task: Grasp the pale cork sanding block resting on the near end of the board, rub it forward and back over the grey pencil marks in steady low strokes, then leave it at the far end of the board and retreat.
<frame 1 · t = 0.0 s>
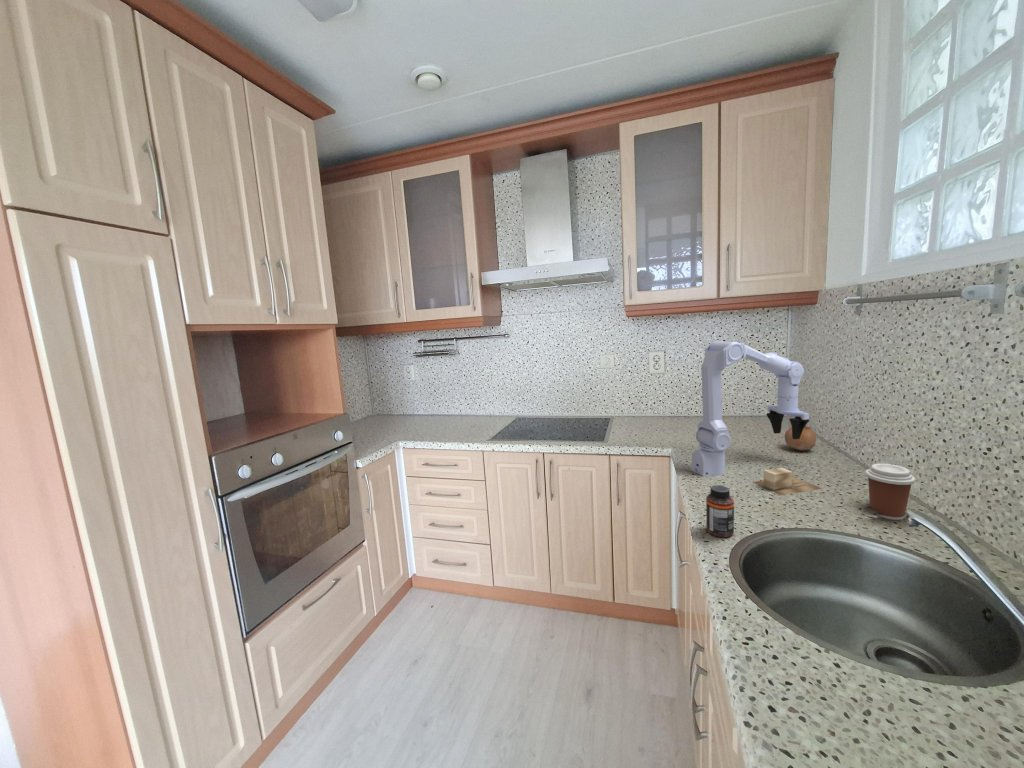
hand: (786, 435, 134), 10 cm above the countertop, tool pointing down, fingers open, 7 cm apart
onion: (799, 451, 148), on the countertop
coffee cup: (886, 514, 99), on the countertop
supplement bottle: (719, 532, 96), on the countertop
sanding block: (777, 487, 115), point 1 cm above the countertop, touching board
board: (786, 488, 117), on the countertop
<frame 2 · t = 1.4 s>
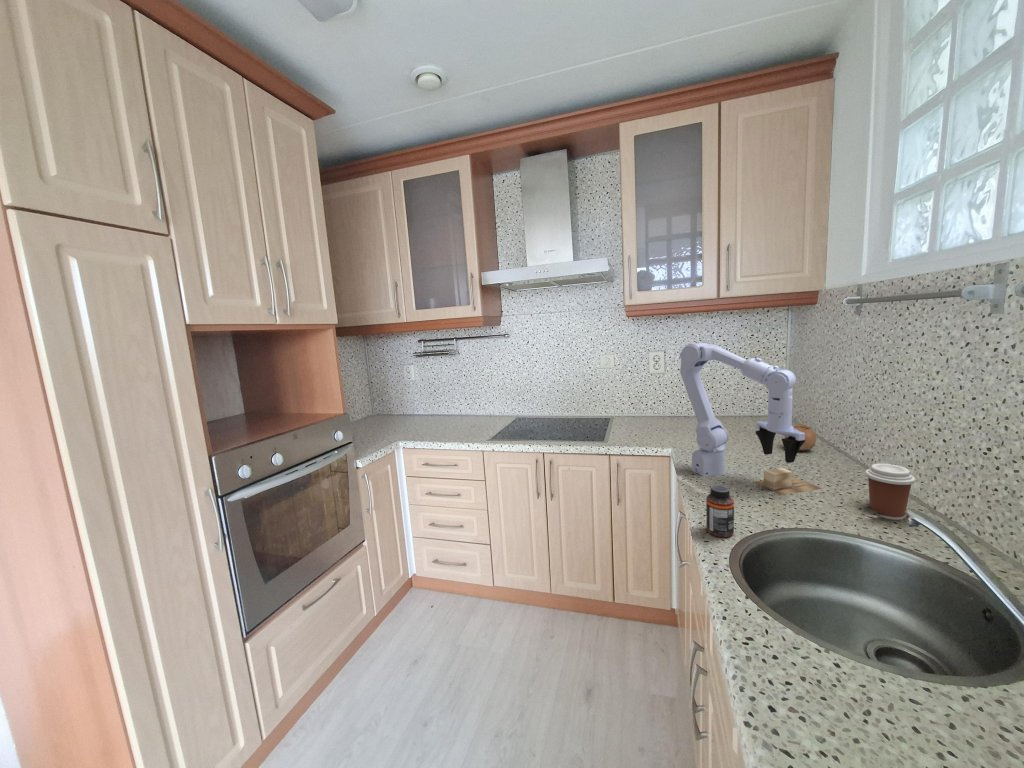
hand: (778, 458, 114), 10 cm above the countertop, tool pointing down, fingers open, 7 cm apart
nothing on the countertop moved.
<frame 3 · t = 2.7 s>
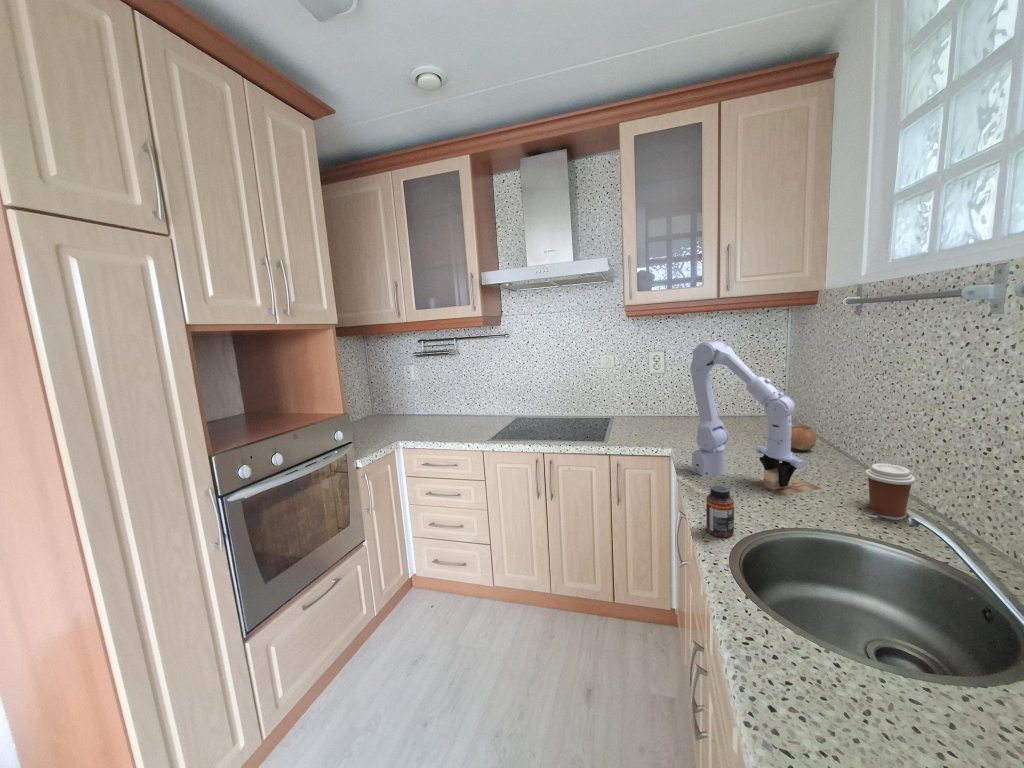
hand: (777, 483, 115), 2 cm above the countertop, tool pointing down, fingers closed on sanding block, 4 cm apart
sanding block: (777, 487, 115), point 1 cm above the countertop, touching board, gripper
everything else where it was.
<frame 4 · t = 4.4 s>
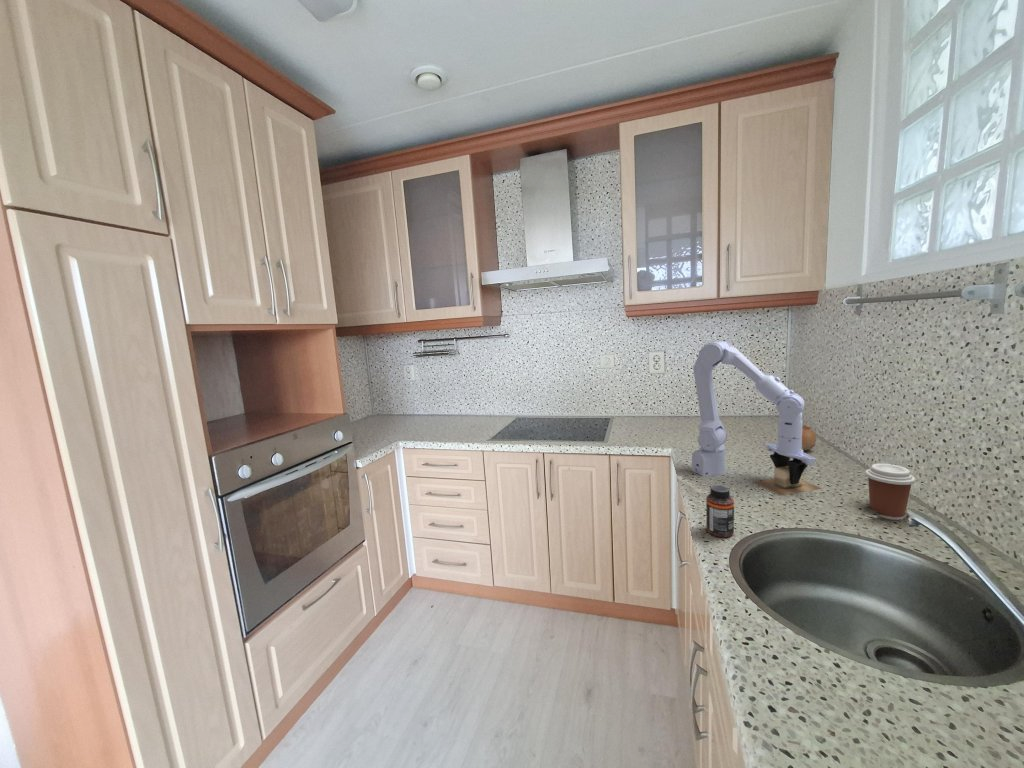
hand: (788, 480, 116), 3 cm above the countertop, tool pointing down, fingers closed on sanding block, 4 cm apart
sanding block: (788, 484, 116), point 1 cm above the countertop, touching gripper
everything else where it was.
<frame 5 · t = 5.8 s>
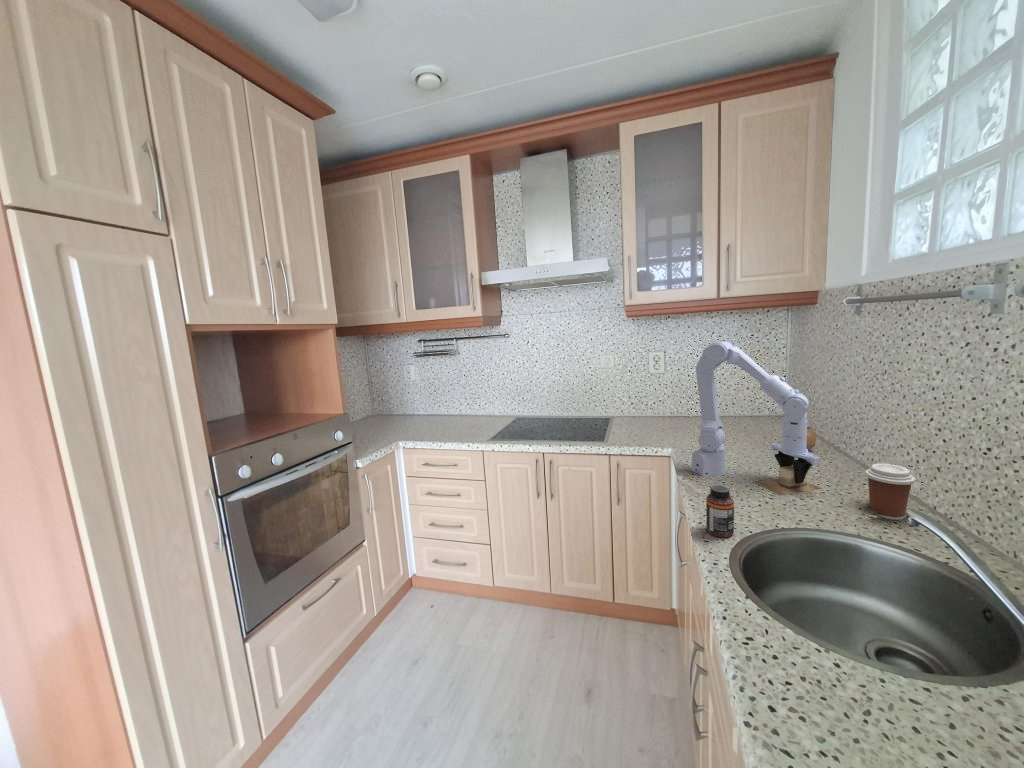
hand: (792, 480, 116), 3 cm above the countertop, tool pointing down, fingers closed on sanding block, 4 cm apart
sanding block: (792, 484, 116), point 1 cm above the countertop, touching gripper
everything else where it was.
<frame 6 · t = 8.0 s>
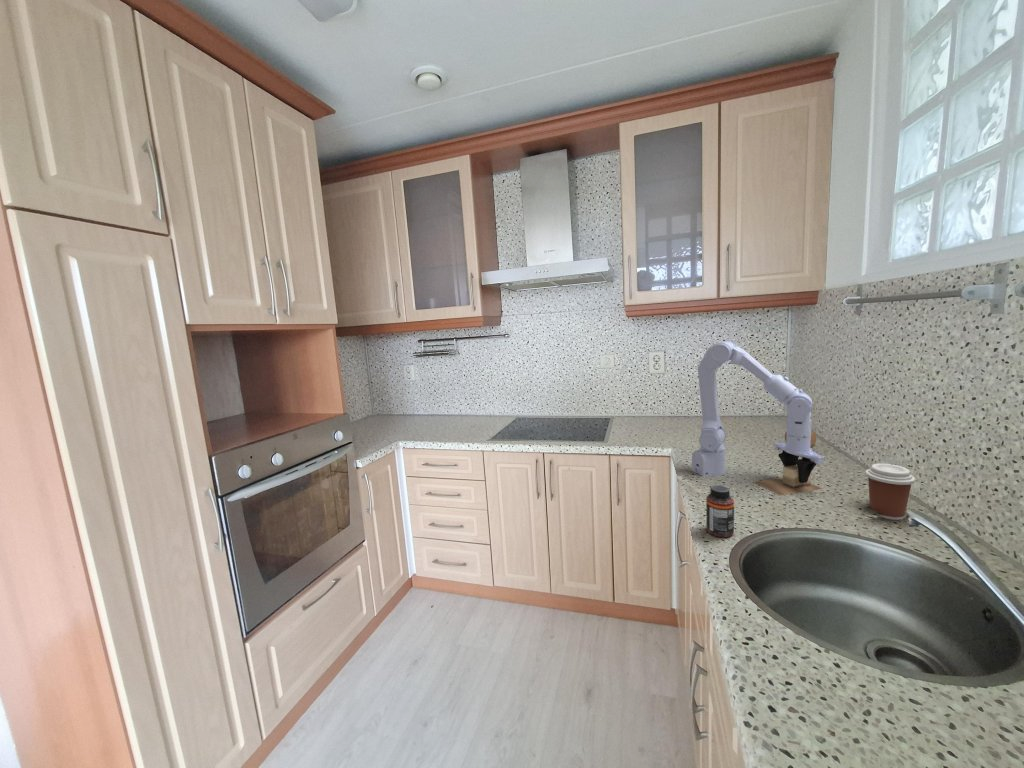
hand: (796, 479, 116), 3 cm above the countertop, tool pointing down, fingers closed on sanding block, 4 cm apart
sanding block: (796, 483, 116), point 1 cm above the countertop, touching gripper
everything else where it was.
when the fingers open (3 cm above the countertop, at t = 9.2 s): sanding block stays where it is, resting on board.
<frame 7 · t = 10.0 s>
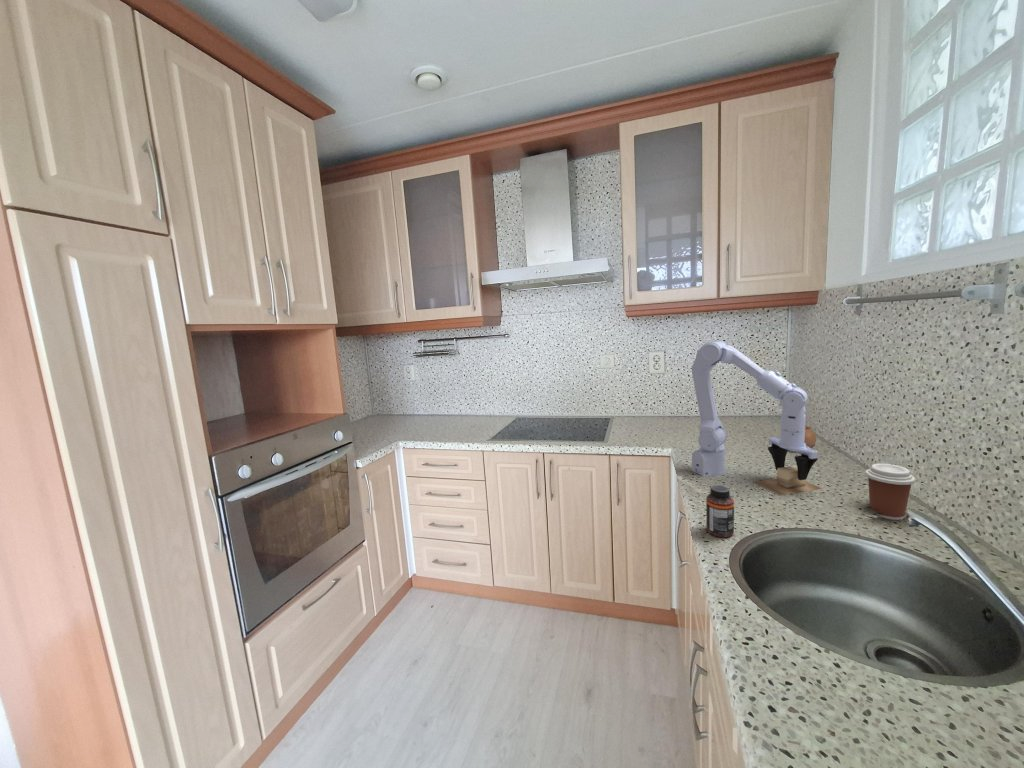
hand: (790, 474, 116), 4 cm above the countertop, tool pointing down, fingers open, 7 cm apart
sanding block: (790, 485, 116), point 1 cm above the countertop, touching board
everything else where it was.
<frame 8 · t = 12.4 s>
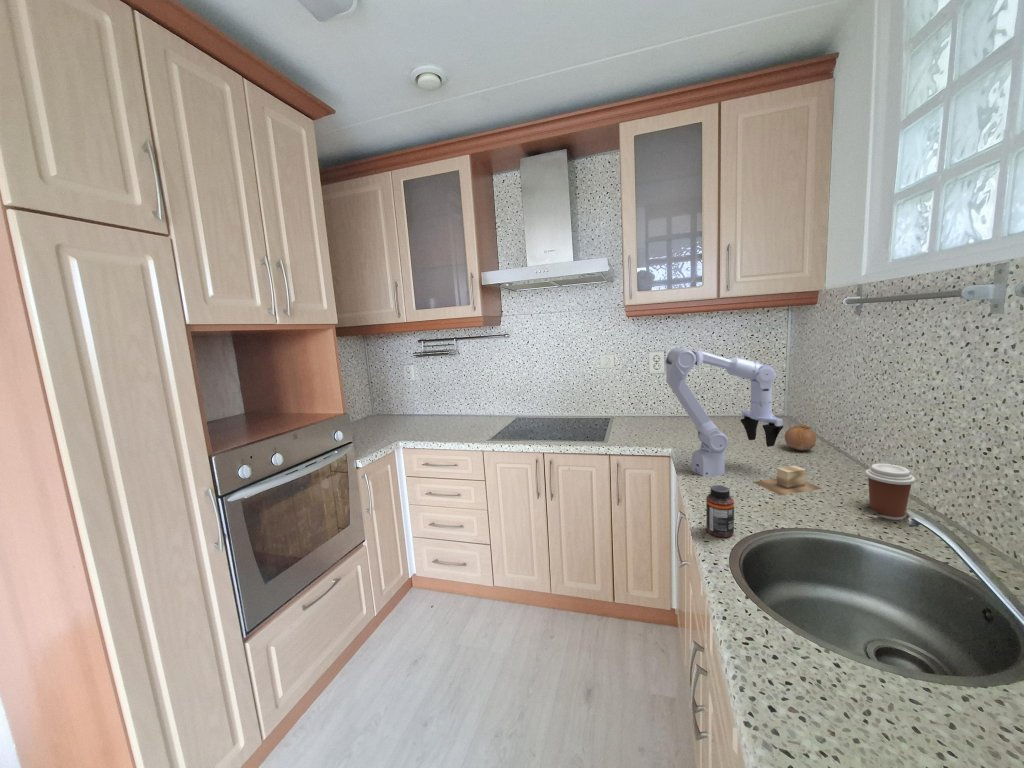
hand: (760, 442, 128), 10 cm above the countertop, tool pointing down, fingers open, 7 cm apart
nothing on the countertop moved.
at the end: sanding block inside the target area (1.0 cm from its centre), point 1.3 cm above the countertop; sanding block moved 4.5 cm from its start; sanding block tilted 0° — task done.
